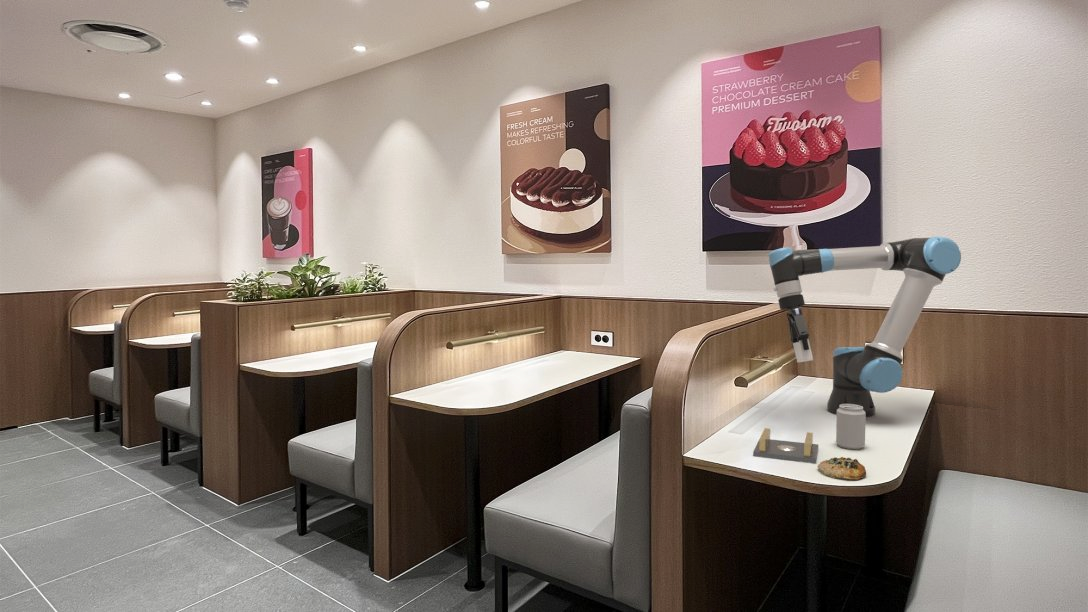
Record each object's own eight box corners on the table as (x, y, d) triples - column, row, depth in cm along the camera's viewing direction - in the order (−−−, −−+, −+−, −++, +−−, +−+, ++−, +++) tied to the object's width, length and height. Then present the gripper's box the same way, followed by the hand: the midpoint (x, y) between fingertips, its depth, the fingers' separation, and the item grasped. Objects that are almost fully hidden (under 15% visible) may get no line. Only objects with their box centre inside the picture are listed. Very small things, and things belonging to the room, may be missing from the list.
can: (830, 443, 182) (831, 403, 181) (855, 442, 182) (855, 402, 182) (845, 451, 174) (846, 409, 173) (870, 449, 175) (871, 408, 174)
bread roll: (859, 466, 161) (859, 449, 160) (871, 488, 151) (872, 469, 150) (814, 466, 164) (814, 448, 163) (822, 486, 153) (822, 468, 152)
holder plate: (753, 455, 172) (753, 439, 171) (759, 442, 184) (759, 426, 184) (815, 463, 164) (816, 446, 164) (818, 448, 177) (818, 432, 177)
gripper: (773, 302, 211) (787, 364, 207) (782, 293, 187) (798, 362, 183) (796, 298, 209) (811, 360, 206) (808, 288, 185) (825, 358, 182)
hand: (805, 361), depth 194 cm, fingers open, 13 cm apart
